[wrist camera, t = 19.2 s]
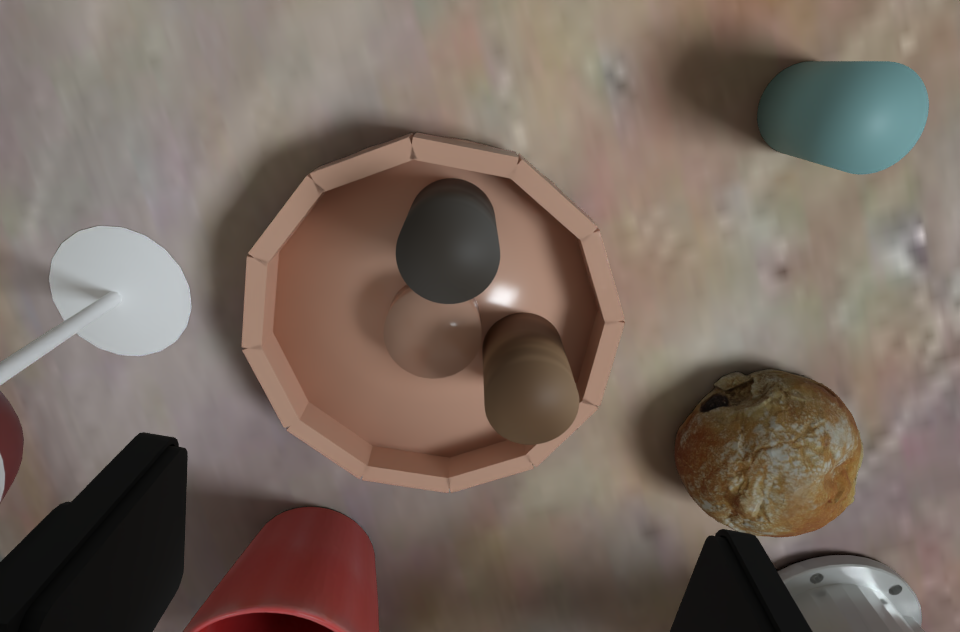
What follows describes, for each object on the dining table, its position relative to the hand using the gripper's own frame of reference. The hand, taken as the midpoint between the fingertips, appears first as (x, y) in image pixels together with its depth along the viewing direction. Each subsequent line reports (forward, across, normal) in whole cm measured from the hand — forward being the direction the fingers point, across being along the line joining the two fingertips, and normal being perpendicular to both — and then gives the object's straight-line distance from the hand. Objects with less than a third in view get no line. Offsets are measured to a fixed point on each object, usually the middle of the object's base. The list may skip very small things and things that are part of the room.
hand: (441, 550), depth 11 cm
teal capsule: (+24, -15, -9) cm, 30 cm away
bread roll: (+25, -20, +9) cm, 33 cm away
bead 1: (+23, +1, -1) cm, 23 cm away
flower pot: (+24, +6, +23) cm, 34 cm away
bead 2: (+23, -4, +6) cm, 24 cm away
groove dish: (+24, +1, +5) cm, 24 cm away
